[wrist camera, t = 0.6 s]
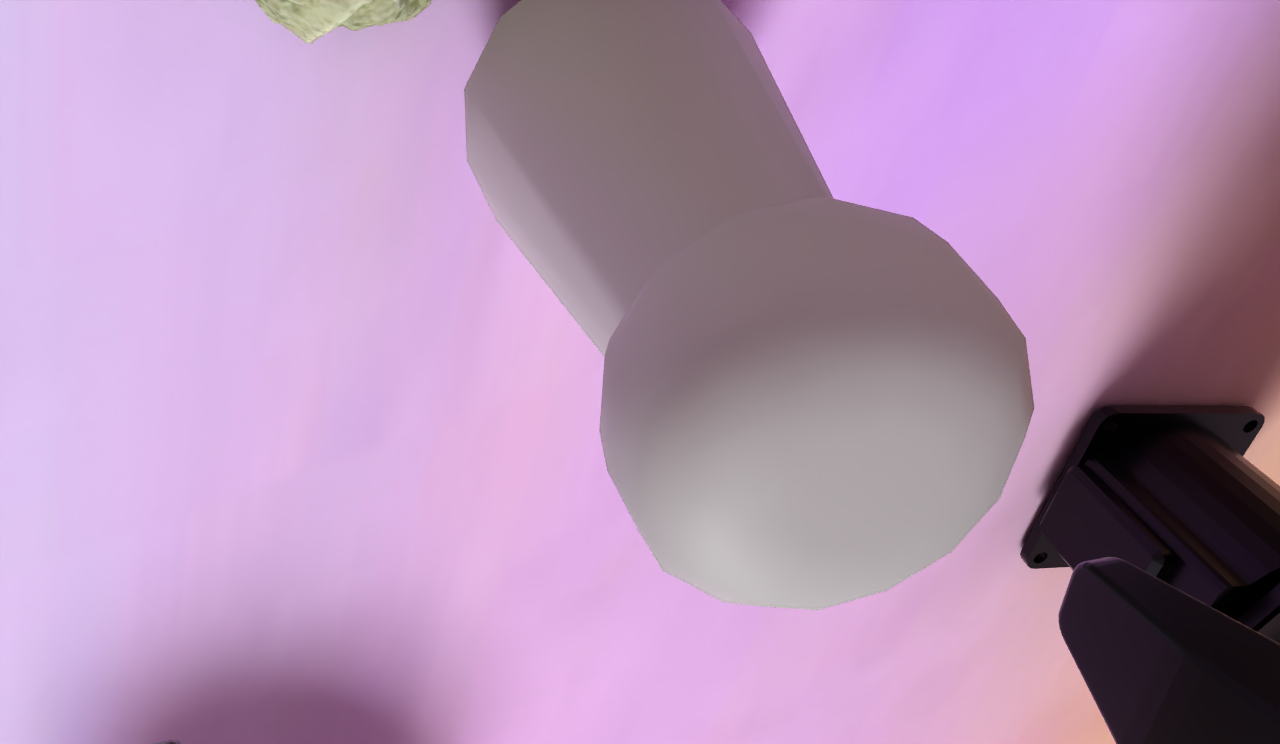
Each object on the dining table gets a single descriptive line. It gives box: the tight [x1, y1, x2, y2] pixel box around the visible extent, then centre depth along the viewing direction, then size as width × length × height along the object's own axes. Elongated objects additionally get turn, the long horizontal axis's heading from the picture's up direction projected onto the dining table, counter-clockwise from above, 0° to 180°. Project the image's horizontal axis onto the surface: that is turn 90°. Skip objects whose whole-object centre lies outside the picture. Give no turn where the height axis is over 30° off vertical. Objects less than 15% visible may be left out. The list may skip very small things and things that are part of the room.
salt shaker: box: [464, 0, 1034, 610], centre depth 13 cm, size 6×6×13 cm
